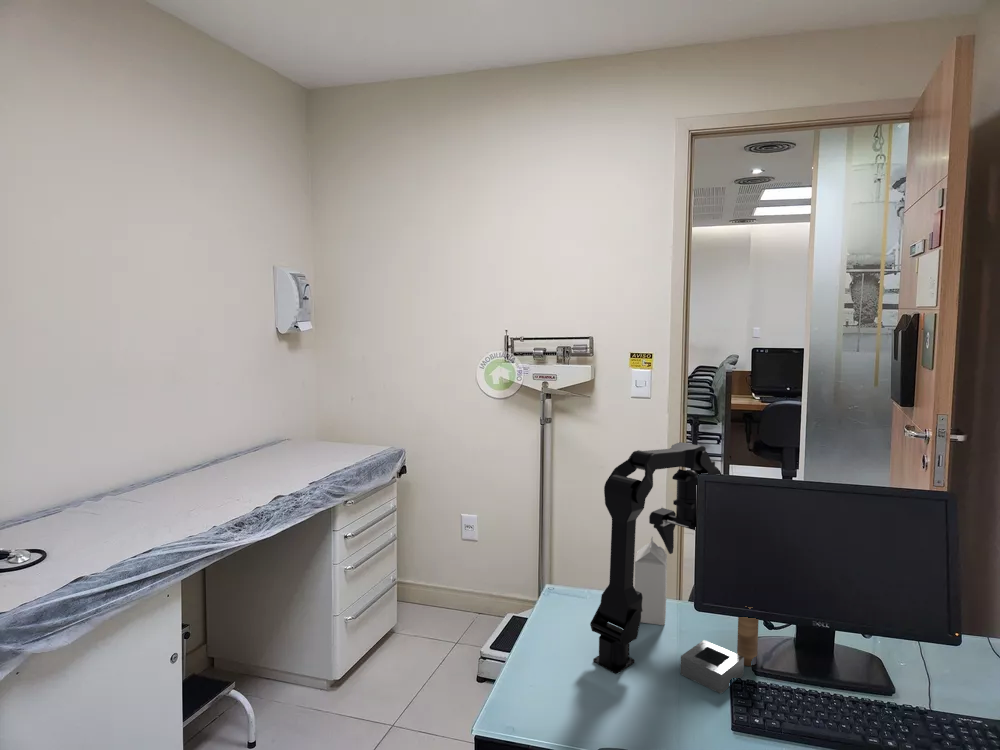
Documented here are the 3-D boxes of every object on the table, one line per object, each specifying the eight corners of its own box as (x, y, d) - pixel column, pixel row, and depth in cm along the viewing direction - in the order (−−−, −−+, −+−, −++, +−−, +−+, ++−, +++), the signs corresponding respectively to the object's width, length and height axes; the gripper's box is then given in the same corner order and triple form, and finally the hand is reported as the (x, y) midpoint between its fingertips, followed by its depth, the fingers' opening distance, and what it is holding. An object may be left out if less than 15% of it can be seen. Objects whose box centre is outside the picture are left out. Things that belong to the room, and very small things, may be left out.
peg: (751, 668, 132) (753, 609, 130) (733, 660, 134) (735, 602, 133) (760, 661, 134) (762, 603, 133) (742, 653, 137) (744, 596, 136)
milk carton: (634, 622, 151) (634, 545, 149) (636, 608, 158) (637, 535, 156) (664, 626, 149) (666, 548, 147) (665, 612, 156) (667, 538, 154)
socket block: (721, 693, 123) (721, 674, 123) (680, 674, 130) (680, 655, 129) (743, 675, 129) (743, 656, 129) (703, 657, 136) (703, 639, 135)
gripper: (743, 497, 148) (741, 560, 150) (673, 481, 162) (672, 539, 164) (718, 508, 141) (717, 574, 143) (648, 490, 155) (647, 551, 156)
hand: (687, 559), depth 152 cm, fingers open, 9 cm apart
